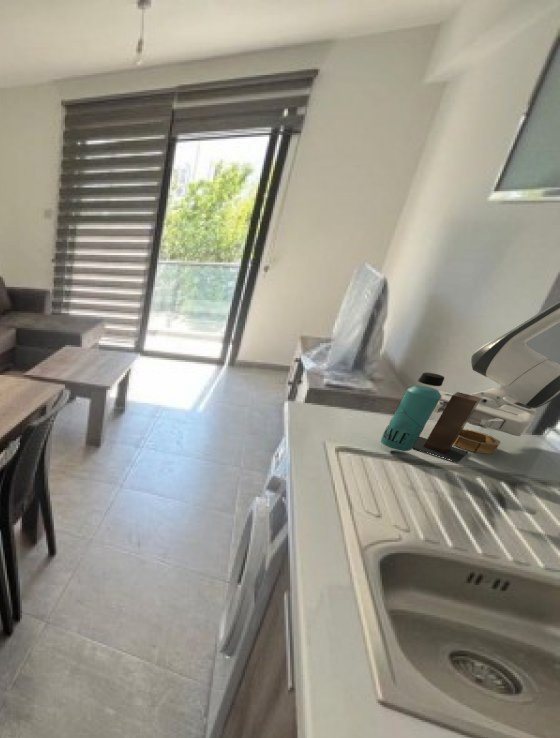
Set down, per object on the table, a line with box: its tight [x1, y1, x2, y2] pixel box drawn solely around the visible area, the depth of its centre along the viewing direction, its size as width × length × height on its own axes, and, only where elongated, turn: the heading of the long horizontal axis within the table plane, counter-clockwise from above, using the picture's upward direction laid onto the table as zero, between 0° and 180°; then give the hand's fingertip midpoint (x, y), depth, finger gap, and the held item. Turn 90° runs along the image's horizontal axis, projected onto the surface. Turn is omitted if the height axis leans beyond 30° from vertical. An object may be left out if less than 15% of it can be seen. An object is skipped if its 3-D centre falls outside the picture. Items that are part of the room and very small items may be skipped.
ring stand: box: [453, 428, 502, 455], centre depth 124 cm, size 9×9×2 cm
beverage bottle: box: [380, 372, 445, 452], centre depth 114 cm, size 6×7×20 cm
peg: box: [423, 391, 481, 454], centre depth 117 cm, size 4×4×14 cm
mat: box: [412, 435, 469, 463], centre depth 121 cm, size 10×10×1 cm
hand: (458, 416), depth 117 cm, fingers open, 8 cm apart
